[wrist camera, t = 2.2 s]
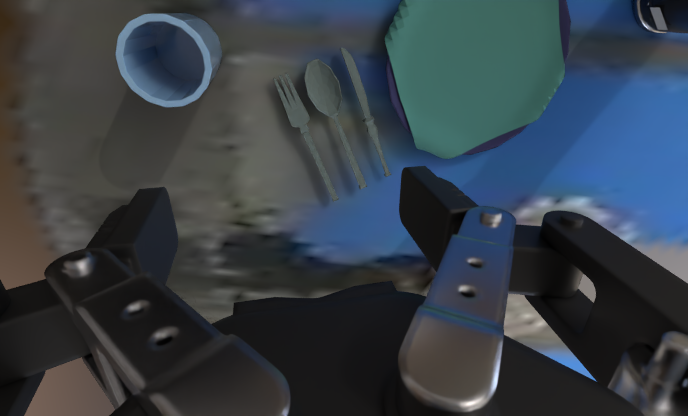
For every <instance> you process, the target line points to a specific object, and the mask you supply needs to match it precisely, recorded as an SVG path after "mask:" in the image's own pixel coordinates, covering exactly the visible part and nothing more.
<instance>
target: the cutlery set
mask: <svg viewBox="0 0 688 416" xmlns="http://www.w3.org/2000/svg"><path fill="white" fill-rule="evenodd" d="M570 23H571V21H570V16H569V11H568V6H567V2H566V0H402V1H401V2H400V4H399V7H398V11H397V13H396V14H395V15H394V19H393V22H392V24H391V25H390V27H389V30H388V33H387V34H386V36H385V44H386V47H387V51H388V57H387V64H386V74H387V81H388V88H389V94H390V101H391V103H392V105H393V107H394V109H395V111H396V113H397V115H398V117H399V119H400V121H401V122H402V124H403V126H404V128H406V129H407V130H408V131H409V132H410V133H411V134H412V135H413V138H414V142H415V145H416V148H417V149H420V150H424V151H427V152H429V153H432V154H434V155H436V156H438V157H440V158H444V159H449V158H454V157H456V156H459V155H461V154H467V155H471V154H475V153H478V152H482V151H485V150H489V149H492V148H496V147H498V146H499V145H501V144H503V143H504V142H506V141H507V140H509V139H511V138H512V137H514V136H516V135H517V134H519V133H520V132H521V131H522V130H523V129H524V128H525V127H526V126H527V125H528V124H530V123H532V122H534V121H536V120H538V119H539V117H540V116H541V115H542V113H543V112H544V110H545V109H546V107H547V105H548V104H549V102H550V100H551V99H552V97H553V95H554V94H555V92H556V91H557V89H558V87H559V86H560V84H561V82H562V81H563V78H564V76H565V66H564V64H565V61H566V58H567V55H568V49H569V36H570ZM340 49H341V52H342V55H343V58H344V61H345V63H346V66H347V69H348V72H349V75H350V77H351V80H352V83H353V86H354V89H355V91H356V94H357V97H358V100H359V103H360V105H361V108H362V111H363V114H364V117H365V119H363V120H362V121H363V122H364V123H366V125H367V132H368V133H369V135H370V136H371V138H372V139H373V141H374V144H375V147H376V149H377V152H378V154H379V156H380V159H381V162H382V165H383V168H384V171H385V174H384V175H385V176H386V177H387V176H389V175H391V173H390V172H389V170H388V167H387V165H386V162H385V160H384V157H383V153H382V149H381V146H380V143H379V140H378V132H377V128H376V126H375V125H374V123H373V120H374V119H375V118H374V117H372V116H370V112H369V107H368V102H367V97H366V94H365V91H364V88H363V85H362V82H361V79H360V76H359V73H358V70H357V68H356V65H355V62H354V60H353V57H352V56H351V55H350V53H349V52H348V51H347V50H345V49H344V48H340ZM285 76H286V78H287V81H288V84H289V86H290V89H291V91H292V94H293V97H294V99H295V101H294V99H293V97H292V95H291V94H290V92H289V90H288V88H287V86H286V84H285V82H284V80H283V78H282V76H281V75H280V76H279V78H280V80H281V83H282V85H283V88H284V90H285V93H286V96H287V98H288V101H289V103H290V105H289V103H288V101H287V99H286V97H285V95H284V93H283V91H282V90H281V88H280V86H279V84H278V82H277V80H276V78H274V79H273V80H274V82H275V85H276V87H277V90H278V92H279V95H280V97H281V100H282V102H283V105H284V107H285V110H286V112H287V115H288V118H289V121H290V123H291V125H292V127H299V128H300V132H301V134H303V136H304V138H305V140H306V142H307V144H308V146H309V149H310V151H311V153H312V155H313V157H314V159H315V162H316V164H317V166H318V168H319V170H320V172H321V175H322V177H323V179H324V181H325V183H326V185H327V188H328V190H329V192H330V194H331V196H332V199H333V202H334V201H336V200H338V199H339V198H338V196H337V195H336V193H335V190H334V188H333V186H332V183H331V181H330V179H329V177H328V174H327V172H326V170H325V168H324V165H323V163H322V161H321V158H320V156H319V154H318V152H317V149H316V147H315V145H314V143H313V140H312V138H311V136H310V133H309V128H308V126H307V125H306V124H307V122H308V121H309V120H310V117H309V115H308V113H307V111H306V109H305V107H304V106H303V104H302V102H301V100H300V98H299V96H298V94H297V92H296V90H295V88H294V86H293V84H292V82H291V80H290V78H289V76H288V74H287V73H285ZM304 79H305V84H306V88H307V93H308V97H309V98H310V100H311V101H312V103H313V104H314V106H315V107H316V109H317V110H318V111H320V112H321V113H323V114H325V115H327V116H328V117H331V118H333V119H334V122H335V124H336V127H337V129H338V132H339V135H340V137H341V140H342V142H343V145H344V147H345V150H346V153H347V155H348V158H349V161H350V163H351V166H352V169H353V171H354V174H355V176H356V179H357V182H358V184H359V188H360V189H362V188H364V187H367V185H366V184H365V180H364V178H363V176H362V173H361V171H360V169H359V167H358V164H357V162H356V160H355V157H354V155H353V153H352V150H351V148H350V146H349V143H348V141H347V139H346V137H345V134H344V132H343V130H342V127H341V125H340V123H339V121H338V118H337V116H338V114H339V110H340V107H341V103H342V94H341V89H340V83H339V81H338V79H337V78H336V76H335V75H334V73H333V71H332V70H331V68H330V67H329V66H328V65H326V64H325V63H323V62H322V61H320V60H319V59H315V60H313V61H311V62H308V63H307V67H306V73H305V78H304ZM295 102H296V103H295ZM290 106H291V107H290ZM291 108H292V109H291Z"/></svg>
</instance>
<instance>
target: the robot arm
mask: <svg viewBox="0 0 688 416" xmlns="http://www.w3.org/2000/svg"><path fill="white" fill-rule="evenodd" d="M633 11H634V16H635V18H636V21H637V22H638V24H639V25H640V26H641V27H642V28H643V29H644V30H646V31H649V32H653V33H667V32H674V33H688V0H633ZM399 213H400V218H401V222H402V224H403V225H404V227H405V228H406V229H407V231H408V232H409V234H410V235H411V237H412V238H413V239H414V241H415V242H416V244H417V245H418V247H419V248H420V249H421V251H422V252H423V254H424V255H425V256H426V258H427V259H428V261H429V262H430V264H431V265H432V266H433V268H434V269H435V271H436V272H437V273H436V275H435V277H434V280H433V282H432V284H431V287H430V289H429V292H428V294H427V296H422V295H419V294H414V293H409V292H400V291H397V290H396V288H395V286H394V285H393V283H392V281H388V282H380V283H373V284H366V285H359V286H354V287H351V288H348V289H345V290H342V291H339V292H336V293H333V294H330V295H327V296H324V297H320V298H284V297H273V298H266V299H258V300H251V301H244V302H237V303H234V308H233V315H231V316H229V317H226V318H224V319H221V320H219V321H217V322H215V323H213V324H210V323H209V322H208V321H207V320H206V319H204V318H203V317H202V316H201V315H200V314H199V313H197V312H196V311H195V310H194V309H193V308H192V307H190V306H189V305H188V304H187V303H186V302H185V301H183V300H182V299H181V298H180V297H179V296H178V295H176V294H175V293H174V292H173V291H172V290H171V289H169V288H168V287H167V286H166V281H167V278H168V275H169V272H170V269H171V266H172V263H173V260H174V257H175V254H176V251H177V247H178V235H177V229H176V225H175V220H174V216H173V212H172V208H171V204H170V199H169V195H168V192H167V190H166V188H165V187H159V188H147V189H139V190H138V191H137V193H136V194H135V196H134V197H133V199H132V200H131V202H130V204H129V205H122V206H121V207H119V208H118V209H116V210H115V211H113V212H112V213H110V214H109V216H108V217H107V218H106V220H105V221H104V224H102V225H101V227H100V228H99V230H98V232H96V234H95V235H94V237H93V238H92V239H91V241H90V242H89V244H88V245H87V247H86V248H85V249H82V250H78V251H74V252H71V253H69V254H66V255H64V256H62V257H60V258H58V259H56V260H55V261H53V262H52V263H51V264H50V265H49V266H48V267H47V268H46V270H45V272H44V275H45V277H46V279H44V280H41V281H38V282H34V283H31V284H27V285H23V286H19V287H16V288H12V289H8V290H6V289H5V288H4V286H3V284H2V282H1V280H0V416H24V415H25V413H26V410H27V408H28V407H29V404H30V403H31V401H32V398H33V397H34V395H35V393H36V391H37V388H38V387H39V385H40V383H41V381H42V379H43V376H44V374H45V371H46V370H47V369H50V368H53V367H56V366H58V365H61V364H64V363H67V362H69V361H72V360H75V359H77V358H80V357H82V359H83V361H84V363H85V365H86V366H87V368H88V369H89V371H90V372H91V374H92V375H93V377H94V378H95V380H96V381H97V383H98V384H99V385H100V387H101V388H102V390H103V391H104V393H105V394H106V396H107V397H108V399H109V400H110V402H111V403H112V405H113V407H114V409H115V411H114V412H113V413H112V414H111V415H110V416H688V283H686V282H684V281H683V280H682V279H680V278H679V277H677V276H675V275H674V274H672V273H671V272H670V271H668V270H666V269H665V268H663V267H662V266H660V265H659V264H657V263H656V262H655V261H653V260H652V259H650V258H649V257H647V256H646V255H644V254H642V253H641V252H640V251H638V250H637V249H635V248H634V247H632V246H631V245H629V244H628V243H626V242H625V241H623V240H622V239H620V238H619V237H617V236H616V235H614V234H613V233H611V232H610V231H608V230H607V229H605V228H604V227H602V226H601V225H599V224H598V223H596V222H595V221H593V220H591V219H590V218H588V217H586V216H583V215H581V214H577V213H573V212H568V211H551V212H548V213H546V214H545V215H544V218H543V221H542V225H541V226H528V225H516V219H515V217H514V216H513V215H512V214H510V213H509V212H507V211H504V210H502V209H499V208H494V207H487V206H478V205H477V204H476V203H475V202H473V201H472V200H471V199H470V198H469V197H468V196H466V195H465V194H464V193H463V192H462V191H461V190H459V189H458V188H457V187H456V186H455V185H454V184H452V183H451V182H449V181H447V180H444V179H442V178H440V177H439V178H438V177H437V176H436V175H435V174H434V173H432V172H431V171H430V170H429V169H428V168H427V167H426V166H417V167H405V168H404V169H403V171H402V175H401V189H400V204H399ZM583 274H585V275H586V276H587V277H588V278H589V279H590V280H591V281H592V282H593V284H594V286H595V289H596V298H595V301H594V303H593V302H592V301H591V300H590V299H588V298H587V297H586V296H585V295H584V294H583V293H582V292H581V291H580V290H579V289H578V286H579V284H580V281H581V278H582V275H583ZM508 293H509V294H520V295H525V298H526V299H527V300H528V301H529V303H530V304H531V305H532V306H533V307H534V308H535V310H536V311H537V312H538V313H539V314H540V315H541V317H542V318H543V319H544V320H545V321H546V322H547V324H548V325H549V326H550V327H551V328H552V329H553V331H554V332H555V333H556V334H557V335H558V336H559V338H560V339H561V340H562V341H563V342H564V343H565V345H566V346H567V347H568V348H569V349H570V350H571V352H572V353H573V354H574V355H575V356H576V357H577V359H578V360H579V361H580V362H581V363H582V364H583V366H584V367H585V368H586V369H587V370H588V371H589V373H590V374H591V375H592V376H593V377H594V378H595V380H596V381H597V382H596V381H594V380H592V379H590V378H588V377H586V376H584V375H582V374H580V373H578V372H576V371H574V370H572V369H570V368H568V367H566V366H565V365H563V364H561V363H559V362H557V361H555V360H553V359H551V358H549V357H547V356H545V355H543V354H541V353H539V352H537V351H535V350H533V349H531V348H529V347H527V346H525V345H523V344H521V343H519V342H517V341H515V340H513V339H511V338H509V337H507V336H505V335H504V330H503V326H504V319H505V311H506V304H507V297H508Z"/></svg>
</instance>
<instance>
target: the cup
mask: <svg viewBox="0 0 688 416" xmlns="http://www.w3.org/2000/svg"><path fill="white" fill-rule="evenodd" d="M115 55H116V59H117V63H118V67H119V71H120V73H121V75H122V77H123V78H124V80H125V81H126V82H127V84H128V85H129V87H130V88H131V89H132V90H133V91H134V92H135V93H137V94H138V95H139V96H141V97H142V98H143V99H145V100H146V101H148V102H150V103H154V104H157V105H160V106H163V107H181V106H185V105H187V104H189V103H191V102H193V101H195V100H197V99H199V97H200V96H201V95H202V93H203V92H204V91H205V90H206V88H207V87H208V86H209V84H210V83H211V81H212V79H213V78H214V76H215V75H216V73H217V72H218V70H219V67H220V64H221V60H222V48H221V44H220V41H219V38H218V36H217V35H216V33H215V31H214V30H213V29H212V28H211V27H210V26H209V25H208V24H207V23H206V22H205V21H204V20H202V19H200V18H198V17H196V16H194V15H191V14H188V13H166V14H144V15H142V16H140V17H138V18H136V19H134V20H132V21H130V22H129V23H127V25H126V26H125V27H124V29H123V30H122V32H121V33H120V35H119V36H118V40H117V47H116V53H115Z"/></svg>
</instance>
